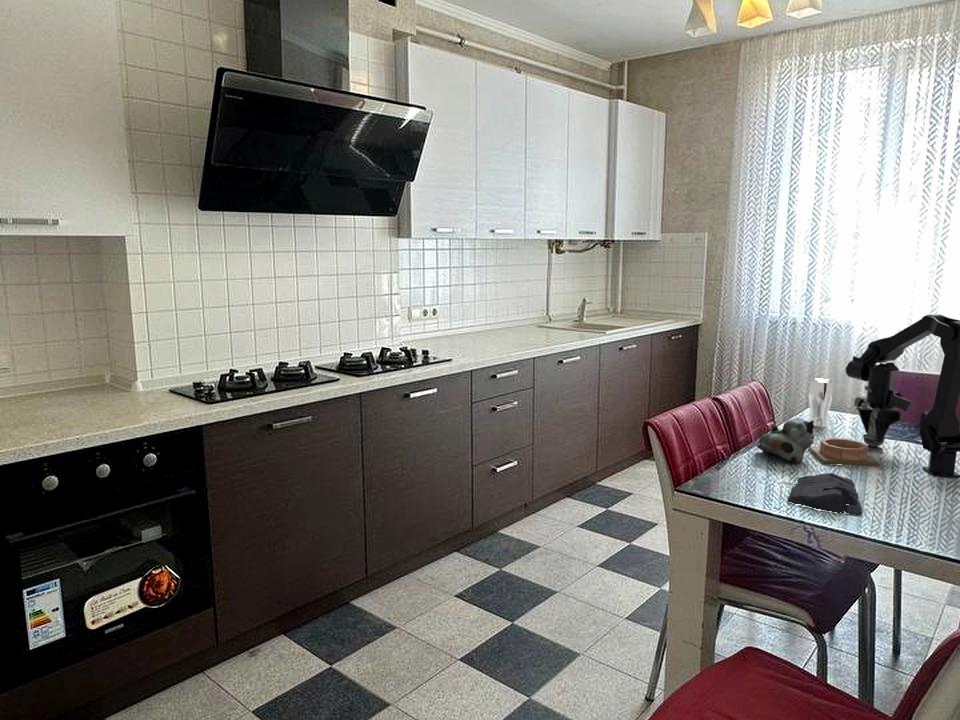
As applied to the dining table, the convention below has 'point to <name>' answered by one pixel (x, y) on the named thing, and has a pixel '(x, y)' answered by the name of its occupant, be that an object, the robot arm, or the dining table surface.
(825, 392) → the beer glass
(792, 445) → the lucky cat figurine
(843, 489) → the dark slate chunk
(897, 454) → the dining table surface
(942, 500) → the dining table surface
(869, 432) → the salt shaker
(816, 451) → the collar board
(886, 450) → the dining table surface
